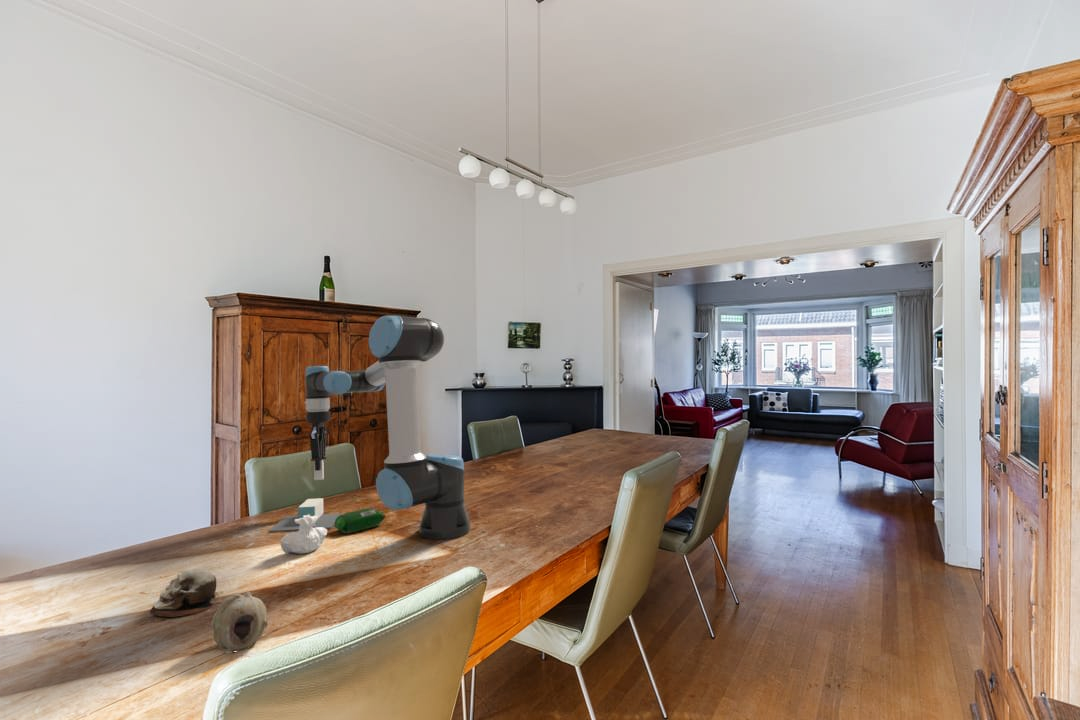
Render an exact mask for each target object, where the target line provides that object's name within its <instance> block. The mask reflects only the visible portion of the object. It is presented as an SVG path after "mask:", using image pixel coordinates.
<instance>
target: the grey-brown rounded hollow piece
mask: <svg viewBox="0 0 1080 720" xmlns="http://www.w3.org/2000/svg"><path fill="white" fill-rule="evenodd" d="M268 619H269V617H268V609H267V607H266V605H265V604H264V601H263V600H261V598H258V597H257V596H256V597H255V596H253V595H252V593H251V592H250V591H247V592H245V593H243V594H241V593H240V594H239V593H234V594H232V595H231V596H229V597H228V598H226V599H225V600H224V601H223V602H222V603H221V604H220V606H219V607H218V608H217V610H216V612H215V613H214V615H213V617H212V620H211V626H212V628H213V629H212V630H213V634H212V638H213V640H214V642H215V643H216V644H217V645H216V646H217V647H218V648H219V649H220V650H223V652H224V653H226V654H232V653H231V652H234V651H238V650H240V651H242V650H241V649H243V650H245V649H244V648H246V649H249V648H251V647H252V646H253V644H254V643H255V642H256V641H258V640H259V639H260V638H261V637H262V636H263V633H264V631H265V629H266V628H267V627H268V626H269V623H270V621H268ZM250 646H251V647H250ZM248 647H249V648H248ZM238 652H239V651H238Z"/></svg>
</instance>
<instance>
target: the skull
mask: <svg viewBox="0 0 1080 720" xmlns="http://www.w3.org/2000/svg"><path fill="white" fill-rule="evenodd" d="M216 589H217V577H216V575H215V573H213V572H212V571H210V570H208V569H206V568H204V567H201V566H197V565H195V566H189V567H187V568H184V569H183V570H182V571H179V573H178V574H177V577H176V578H172V579H171V580H170V582H169V584H168V585H167V586H166V587H165V589H164V590H163V591H162V592H160V594H159V599H158V600H157V601H156V602H155V603H154V604H153V606H152V608H151V612H152V614H154V615H156V616H158V617H159V616H160V617H163V618H168V617H170V618H173V617H174V618H177V617H181V616H190V615H192V614H195V615H196V613H199V612H202V611H203V612H204V611H206V610H208V609H210V608H212V607H214V606H215V603H214V602H211V601H213V600H215V597H216V596H220V593H219V592H217V591H216Z"/></svg>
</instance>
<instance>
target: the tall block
mask: <svg viewBox="0 0 1080 720" xmlns="http://www.w3.org/2000/svg"><path fill="white" fill-rule="evenodd" d="M308 514H309V515H310V516H314V515H317V516H318V517H317V519H318V518H319V517H320V516H321V515H322V514H324V498H321V497H318V498H307V499H306V500H305V501H303V502H302V503H301V504H300V505H299V506H298V507H297V515H298V519H299V518H303V515H308ZM317 519H316V520H317ZM316 520H315V521H316Z"/></svg>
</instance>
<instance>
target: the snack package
mask: <svg viewBox="0 0 1080 720" xmlns="http://www.w3.org/2000/svg"><path fill="white" fill-rule="evenodd" d="M385 518H386V514H384V513H383V512H381V511H379V510H377V509H374V508H371V507H369V508H363V509H359V510H355V511H354V510H353V511H351V512H346V513H343V514H342V515H340V516H338V517H337V518H336V520H335V523H334V526H333V527H334V528H336V529H338V531H339V532H342V533H344V534H348V535H349V534H353V533H357V532H360V530H361V531H365V530H369V529H371V528H375V527H377V526H379V525H380V524H381V523H382V522H383V521H384V520H385ZM364 529H365V530H364Z"/></svg>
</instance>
